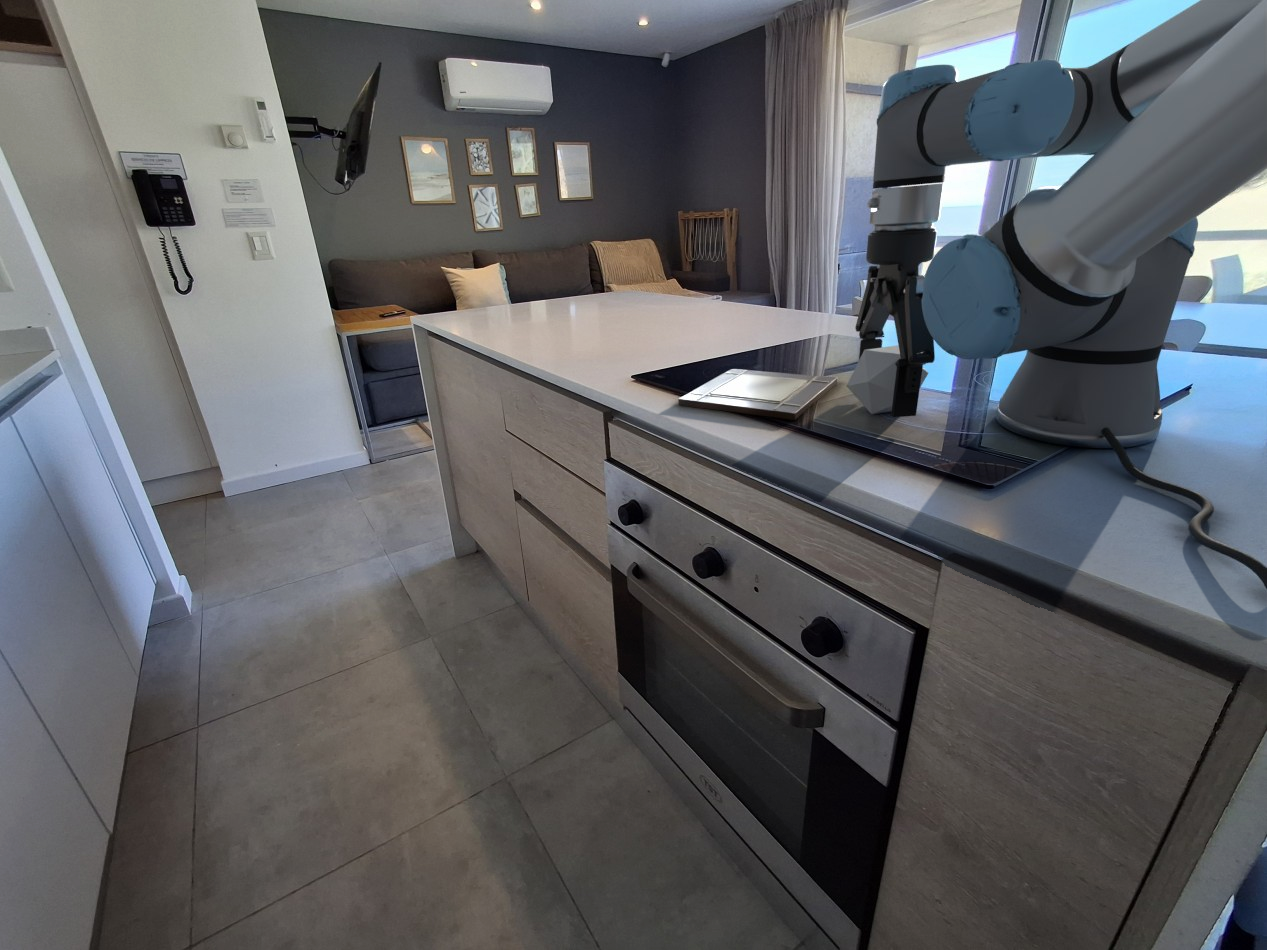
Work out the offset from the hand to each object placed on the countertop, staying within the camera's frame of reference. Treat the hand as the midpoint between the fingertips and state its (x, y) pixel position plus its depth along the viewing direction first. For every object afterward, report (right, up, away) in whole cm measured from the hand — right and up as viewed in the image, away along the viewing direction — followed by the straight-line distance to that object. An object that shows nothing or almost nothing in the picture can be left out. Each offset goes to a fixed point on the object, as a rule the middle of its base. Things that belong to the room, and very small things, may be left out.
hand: (883, 399), depth 77 cm
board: (-14, +2, +10) cm, 18 cm away
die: (0, -1, 0) cm, 1 cm away
